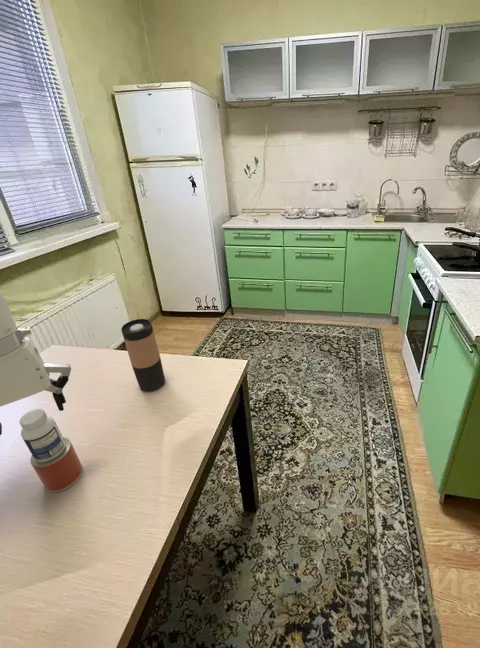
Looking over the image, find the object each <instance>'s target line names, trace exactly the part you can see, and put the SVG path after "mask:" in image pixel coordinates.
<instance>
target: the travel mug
mask: <svg viewBox="0 0 480 648" xmlns="http://www.w3.org/2000/svg"><path fill="white" fill-rule="evenodd" d="M120 331H121V333H122V337H123V340H124V344H125V348H126V352H127V355H128V357H129V361H130V365H131V367H132V370H133V373H134V375H135V378H136V381H137V384H138V387H139V389H140V390H141V391H142V392H144V393H145V392H146V393H150V392H154V391H158V390H159V389H160V388H162V387H163V386H164V385H165V383H166V377H165V372H164V368H163V362H162V360H161V359H162V358H161V354H160V350H159V347H158V344H157V343H158V342H157V339H156V335H155V331H154V328H153V325H152V322H151V320H149V319H147V318H138V319H137V318H136V319H134V320H130V321H128V322H126V323H124V324H123V325H122V326H121V330H120Z"/></svg>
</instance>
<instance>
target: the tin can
mask: <svg viewBox="0 0 480 648" xmlns="http://www.w3.org/2000/svg"><path fill="white" fill-rule="evenodd" d="M63 439H64V441H65V448H64V450H63V451H62V452H61V453H60V454H59V455H58V456H57V457H55V458H53V459H51V460H49V461H46V462H38V461H36V460H35V458H34V457H33V455H32V454H31V457H30V465H31V466H32V468H33V470H34V471H35V473H36V476H37V477H38V479H39V481H40V482H41V483H42V485H43V487H44V489H45V491H47V492H48V493H51V494H57V493H60V492H63V491H66V490H68V489H70V488H71V487H73V485H75V484H76V483H77V482H78V481H79V480H80V478H81V477H82V475H83V473H84V466H83V464H82V463H81V460H80V458H79V456H78V454H77V452H76V450H75V447H74V446H73V444H72V442H71V440H70V439H69V438H67V437H63Z"/></svg>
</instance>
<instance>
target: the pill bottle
mask: <svg viewBox="0 0 480 648" xmlns="http://www.w3.org/2000/svg"><path fill="white" fill-rule="evenodd" d="M19 424H20V426H21V430H20V436H21V438H22V440H23V441H24V443H25V445H26V447H27V448H28V450H29V452H30V453H31V456H32V455H33V457H34V458H35V460H36V461H38V462H46V461H49V460H51V459H53V458H55V457H57V456H58V455H59V454H60V453H61V452H62V451H63V450H64V448H65V441H64V439H63V438H64V437H63V435H62V433H61V431H60V429H59V427H58V424H57V422H56V421H55V419H54V418H53V417H52V416H49V415H47V413H46V411H45V410H44V409H42V408H35V409H31V410H29V411H28V412H26V413H25V414H23V415H22V416H21V417H20V419H19Z"/></svg>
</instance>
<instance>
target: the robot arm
mask: <svg viewBox="0 0 480 648" xmlns="http://www.w3.org/2000/svg"><path fill="white" fill-rule="evenodd" d="M30 335H33V334H32V330H31V328H30V327H25V328H24V327H20V326H19V325H18V324H17V323H16V320H15V318H14V316H13V314H12V312H11V310H10V306H9V305H8V303H7V301H6V298H5V296H4V294H3V292H2V290H1V289H0V408H1V407H4V406H7V405H9V404H12V403H15V402H18V401H20V400H23V399H26V398H29V397H32V396H34V395H37V394H39V393H42V392H44V391H47V392H49V393H52V398H53V399H54V402H55V404H56V407H57V409H58V410H59V412H62V411H64V410H65V408H64V404H66V403H67V401H66V397H65V395H64V393H63V390H64V388H65V386H66V385H67V384H68V382H69V378H70V376H71V372H72V366H71V364H69V363H46V362H45V361H44V359H43V357H42V356H41V354H40V352H39V350H38V349H37V347H36V346H35V344H34V343H33V342H32V340H31V339H30V338H29V337H28V336H30ZM51 373H53V374H54V373H55V374H57V373H59V374H60V375H59V376H58V378H57V379H53V378H50V374H51ZM2 434H3V425H2V423H1V422H0V436H1V435H2Z"/></svg>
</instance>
